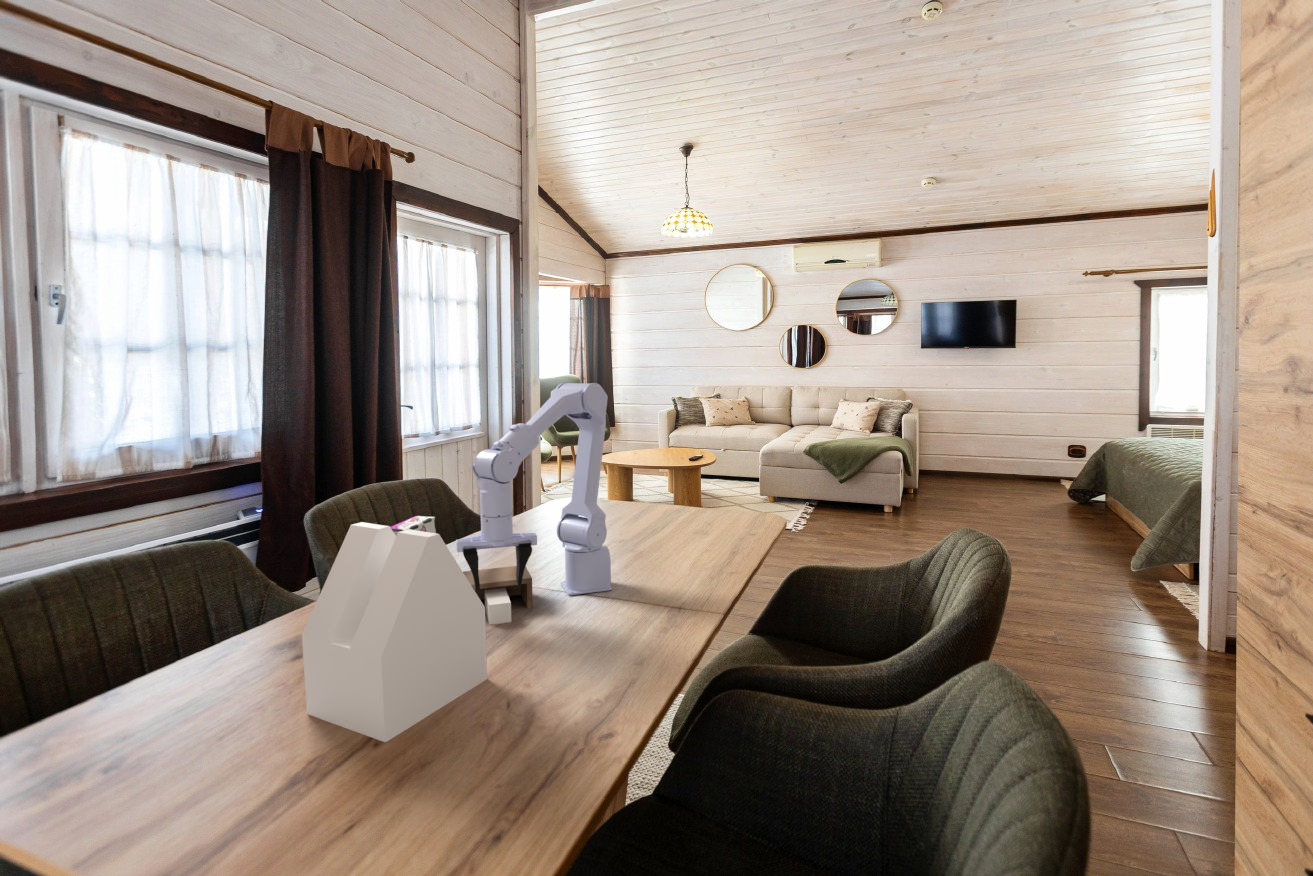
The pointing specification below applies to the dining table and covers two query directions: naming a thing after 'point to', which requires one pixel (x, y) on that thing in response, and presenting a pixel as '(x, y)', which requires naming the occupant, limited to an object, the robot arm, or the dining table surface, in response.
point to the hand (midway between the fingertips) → (498, 585)
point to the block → (497, 605)
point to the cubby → (503, 582)
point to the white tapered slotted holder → (392, 633)
